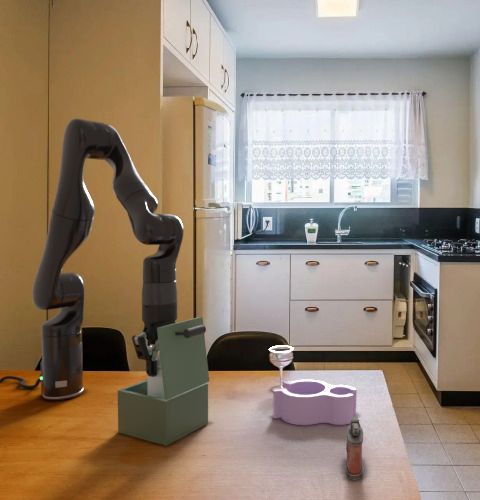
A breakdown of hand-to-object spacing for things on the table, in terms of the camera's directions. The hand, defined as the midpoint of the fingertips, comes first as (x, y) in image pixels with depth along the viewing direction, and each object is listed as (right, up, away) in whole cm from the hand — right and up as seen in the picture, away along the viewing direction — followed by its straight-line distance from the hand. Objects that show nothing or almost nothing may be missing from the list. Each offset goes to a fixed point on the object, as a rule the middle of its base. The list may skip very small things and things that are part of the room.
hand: (160, 372), depth 114 cm
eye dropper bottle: (0, -7, +1) cm, 7 cm away
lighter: (+46, -16, -16) cm, 51 cm away
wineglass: (+23, -12, +27) cm, 37 cm away
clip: (+35, -13, +10) cm, 39 cm away
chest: (+1, -13, +1) cm, 13 cm away
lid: (+7, +5, -3) cm, 9 cm away
